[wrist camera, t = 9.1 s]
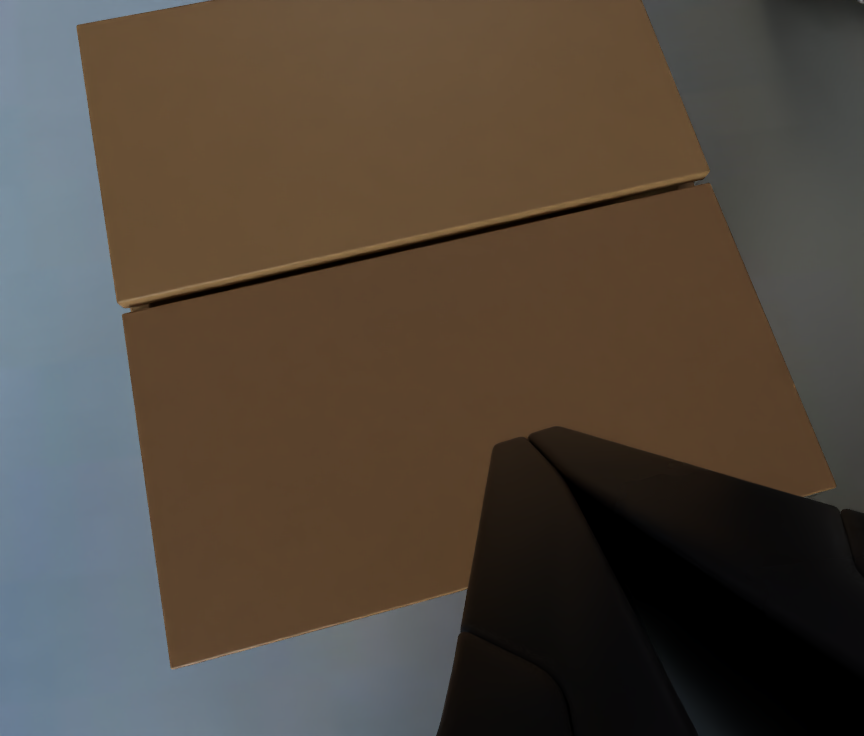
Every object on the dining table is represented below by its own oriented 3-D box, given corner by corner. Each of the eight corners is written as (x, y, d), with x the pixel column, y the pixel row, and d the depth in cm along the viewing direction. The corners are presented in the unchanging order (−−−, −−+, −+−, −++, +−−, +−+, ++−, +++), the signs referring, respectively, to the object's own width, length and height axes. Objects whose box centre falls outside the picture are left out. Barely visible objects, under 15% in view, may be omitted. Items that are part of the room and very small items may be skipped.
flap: (825, 488, 12) (838, 487, 11) (177, 666, 11) (170, 670, 10) (703, 191, 13) (710, 181, 13) (129, 320, 12) (120, 313, 12)
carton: (654, 509, 20) (843, 491, 11) (280, 610, 19) (167, 677, 10) (536, 156, 23) (613, -78, 14) (208, 226, 22) (72, 21, 13)
